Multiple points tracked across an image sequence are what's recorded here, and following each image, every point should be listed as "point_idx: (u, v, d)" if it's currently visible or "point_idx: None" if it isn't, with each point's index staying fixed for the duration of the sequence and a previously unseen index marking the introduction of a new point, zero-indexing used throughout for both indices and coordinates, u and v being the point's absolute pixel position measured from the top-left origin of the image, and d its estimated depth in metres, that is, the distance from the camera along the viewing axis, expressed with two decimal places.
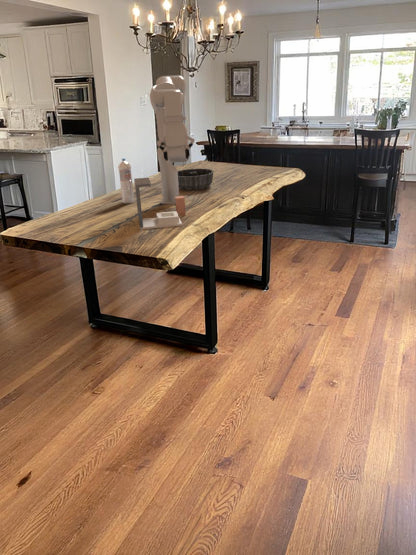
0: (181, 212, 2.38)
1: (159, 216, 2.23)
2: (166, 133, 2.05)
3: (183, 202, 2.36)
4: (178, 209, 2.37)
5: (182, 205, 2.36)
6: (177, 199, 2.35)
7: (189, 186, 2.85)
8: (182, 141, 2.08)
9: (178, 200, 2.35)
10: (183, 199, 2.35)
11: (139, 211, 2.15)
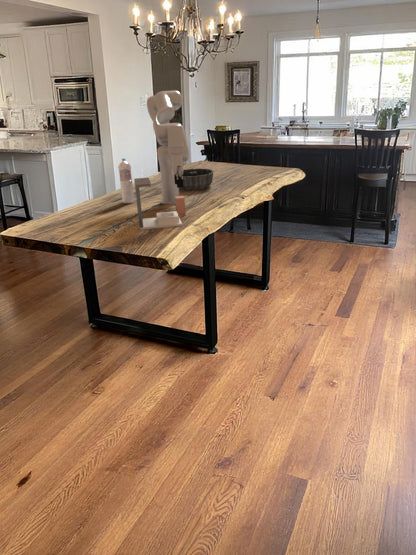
0: (181, 212, 2.38)
1: (159, 216, 2.23)
2: (182, 162, 2.26)
3: (183, 202, 2.36)
4: (178, 209, 2.37)
5: (182, 205, 2.36)
6: (177, 199, 2.35)
7: (189, 186, 2.85)
8: None
9: (178, 200, 2.35)
10: (183, 199, 2.35)
11: (139, 211, 2.15)
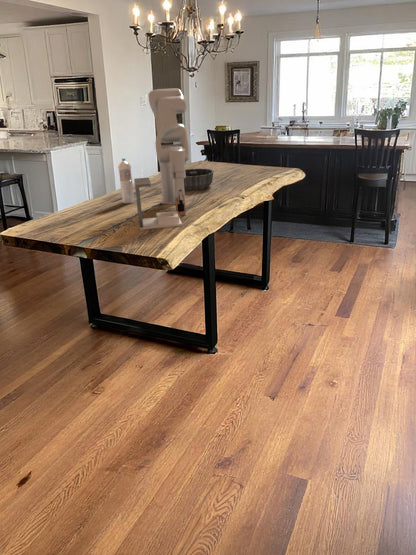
0: (181, 212, 2.38)
1: (159, 216, 2.23)
2: (183, 186, 2.31)
3: None
4: None
5: None
6: (177, 199, 2.35)
7: (189, 186, 2.85)
8: None
9: None
10: (183, 199, 2.35)
11: (139, 211, 2.15)
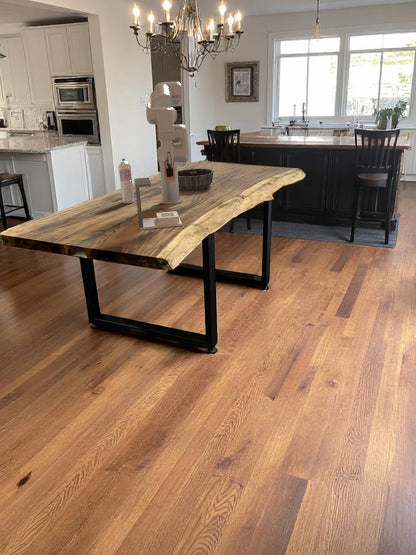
0: (170, 177, 2.21)
1: (159, 216, 2.23)
2: (172, 148, 2.14)
3: (172, 166, 2.19)
4: None
5: None
6: None
7: (189, 186, 2.85)
8: None
9: None
10: (172, 163, 2.19)
11: (139, 211, 2.15)
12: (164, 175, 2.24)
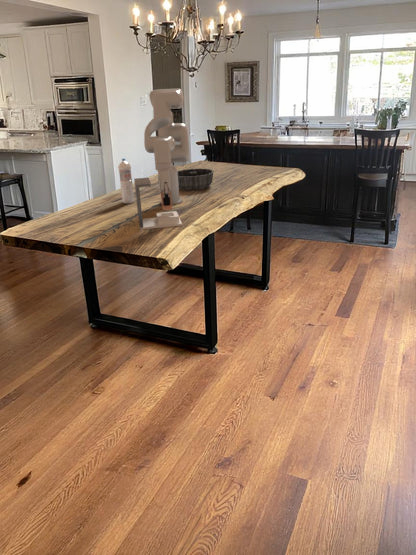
0: (167, 206, 2.22)
1: (159, 216, 2.23)
2: (169, 178, 2.15)
3: (169, 195, 2.20)
4: None
5: None
6: None
7: (189, 186, 2.85)
8: None
9: None
10: (169, 192, 2.20)
11: (139, 211, 2.15)
12: None
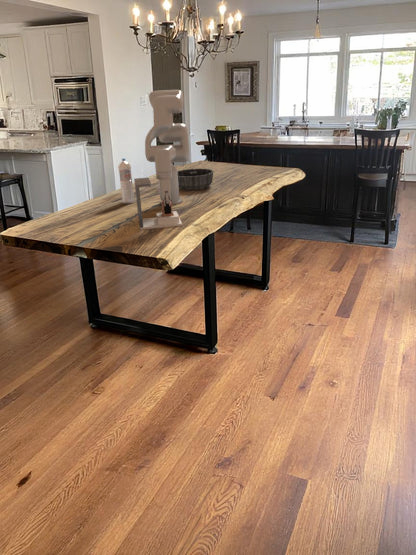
0: None
1: (159, 216, 2.23)
2: (170, 187, 2.17)
3: None
4: (165, 215, 2.23)
5: None
6: None
7: (189, 186, 2.85)
8: None
9: None
10: None
11: (139, 211, 2.15)
12: None
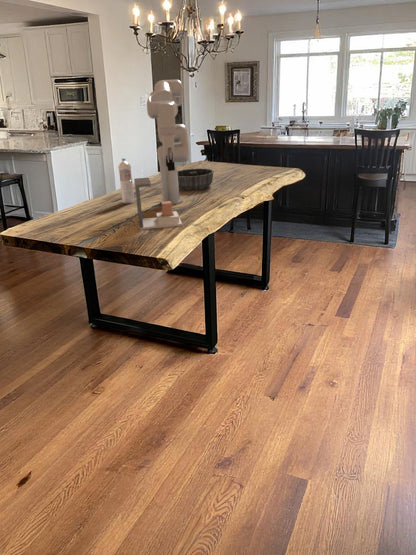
0: None
1: (159, 216, 2.23)
2: (173, 143, 2.13)
3: (170, 208, 2.23)
4: (165, 215, 2.23)
5: (169, 211, 2.23)
6: (164, 205, 2.21)
7: (189, 186, 2.85)
8: None
9: (165, 205, 2.22)
10: (170, 205, 2.22)
11: (139, 211, 2.15)
12: None
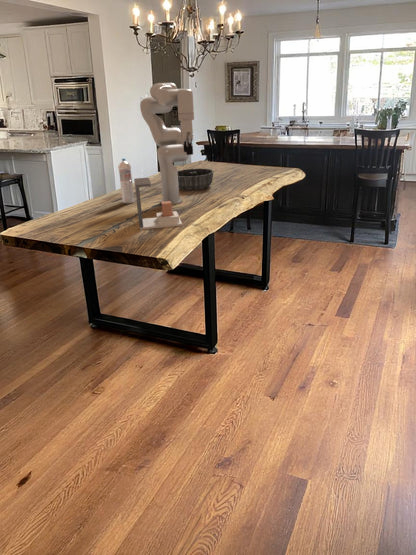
0: None
1: (159, 216, 2.23)
2: (192, 128, 2.22)
3: (170, 208, 2.23)
4: (165, 215, 2.23)
5: (169, 211, 2.23)
6: (164, 205, 2.21)
7: (189, 186, 2.85)
8: None
9: (165, 205, 2.22)
10: (170, 205, 2.22)
11: (139, 211, 2.15)
12: None
